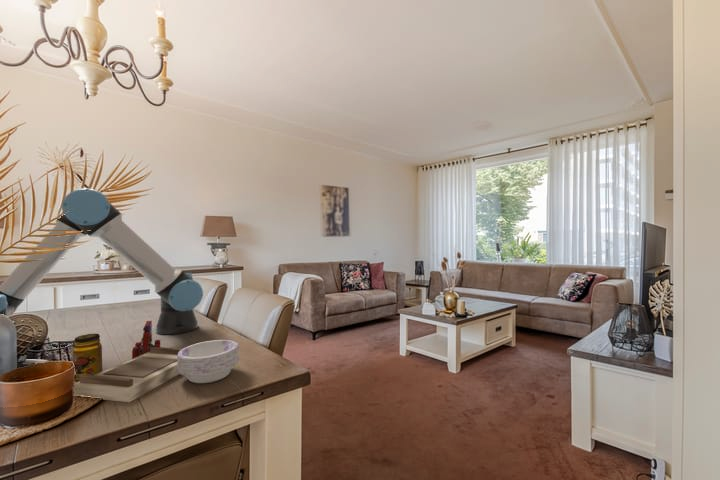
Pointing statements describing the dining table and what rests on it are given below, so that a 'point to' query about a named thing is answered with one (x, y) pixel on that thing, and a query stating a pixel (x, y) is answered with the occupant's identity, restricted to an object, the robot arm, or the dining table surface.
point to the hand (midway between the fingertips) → (75, 356)
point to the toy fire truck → (145, 342)
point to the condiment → (87, 355)
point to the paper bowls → (208, 360)
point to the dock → (131, 376)
